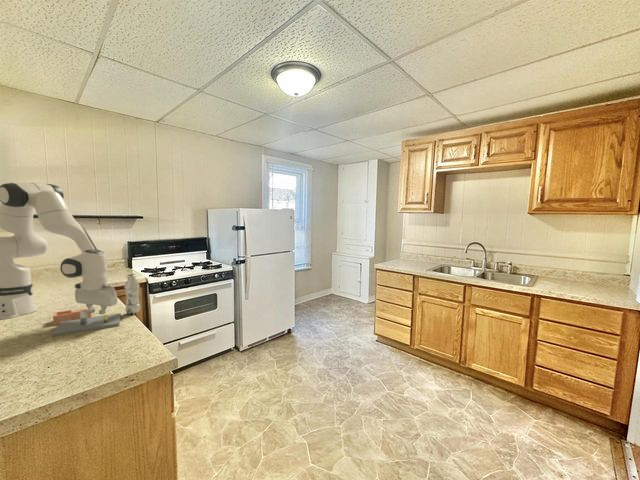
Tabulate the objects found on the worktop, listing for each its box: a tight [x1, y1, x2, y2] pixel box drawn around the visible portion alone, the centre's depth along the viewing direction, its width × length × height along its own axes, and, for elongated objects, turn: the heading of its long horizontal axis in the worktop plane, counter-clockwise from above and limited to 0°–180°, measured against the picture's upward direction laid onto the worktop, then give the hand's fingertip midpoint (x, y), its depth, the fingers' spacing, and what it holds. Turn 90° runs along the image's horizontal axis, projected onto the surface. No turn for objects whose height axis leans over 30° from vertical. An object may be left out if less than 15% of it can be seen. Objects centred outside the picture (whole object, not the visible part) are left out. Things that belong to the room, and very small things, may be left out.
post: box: [80, 310, 109, 325], centre depth 123 cm, size 10×2×6 cm, turn 104°
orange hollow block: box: [52, 307, 92, 326], centre depth 131 cm, size 13×7×4 cm, turn 130°
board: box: [52, 312, 122, 337], centre depth 124 cm, size 22×15×2 cm
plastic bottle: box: [124, 273, 141, 315], centre depth 140 cm, size 6×7×20 cm
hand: (97, 313), depth 128 cm, fingers open, 5 cm apart
